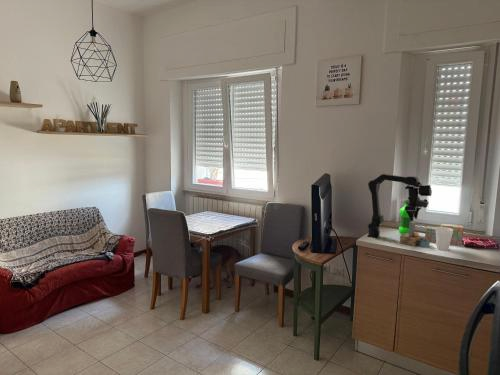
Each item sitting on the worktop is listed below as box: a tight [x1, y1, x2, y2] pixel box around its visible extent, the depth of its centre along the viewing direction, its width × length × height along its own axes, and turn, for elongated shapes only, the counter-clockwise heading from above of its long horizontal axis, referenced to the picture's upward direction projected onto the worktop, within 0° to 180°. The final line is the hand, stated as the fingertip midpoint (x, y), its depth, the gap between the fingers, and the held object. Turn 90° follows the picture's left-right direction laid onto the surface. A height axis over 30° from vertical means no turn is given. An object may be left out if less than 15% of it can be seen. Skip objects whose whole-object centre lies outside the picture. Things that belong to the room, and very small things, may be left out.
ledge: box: [399, 233, 425, 247], centre depth 225 cm, size 12×10×5 cm
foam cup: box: [435, 226, 453, 252], centre depth 214 cm, size 10×9×13 cm
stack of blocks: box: [424, 223, 465, 247], centre depth 230 cm, size 21×6×12 cm, turn 66°
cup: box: [418, 238, 431, 248], centre depth 221 cm, size 6×6×4 cm
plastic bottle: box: [398, 199, 412, 236], centre depth 245 cm, size 10×10×25 cm
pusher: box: [409, 220, 416, 237], centre depth 225 cm, size 2×6×9 cm, turn 140°
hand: (414, 219), depth 224 cm, fingers open, 9 cm apart
